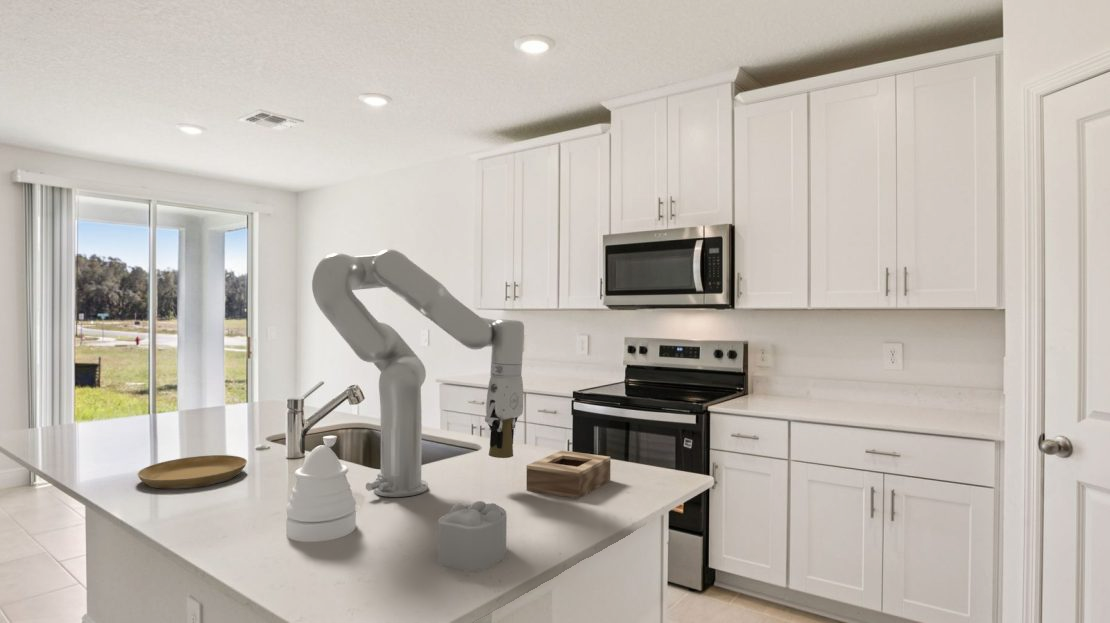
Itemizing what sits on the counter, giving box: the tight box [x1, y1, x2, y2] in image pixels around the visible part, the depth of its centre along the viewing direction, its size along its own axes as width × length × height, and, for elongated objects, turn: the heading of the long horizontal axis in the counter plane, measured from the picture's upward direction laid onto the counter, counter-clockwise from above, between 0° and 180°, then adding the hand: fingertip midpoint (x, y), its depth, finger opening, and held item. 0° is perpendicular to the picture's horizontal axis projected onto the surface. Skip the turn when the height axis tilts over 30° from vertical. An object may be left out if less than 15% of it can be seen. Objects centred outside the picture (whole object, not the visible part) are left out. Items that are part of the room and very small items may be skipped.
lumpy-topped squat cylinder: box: [437, 500, 507, 572], centre depth 113 cm, size 10×13×9 cm
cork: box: [488, 415, 514, 459], centre depth 154 cm, size 6×6×11 cm
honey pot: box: [285, 435, 357, 543], centre depth 125 cm, size 13×13×18 cm
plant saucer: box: [137, 454, 248, 490], centre depth 162 cm, size 24×24×3 cm
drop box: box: [526, 450, 611, 499], centre depth 157 cm, size 18×14×6 cm
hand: (501, 445), depth 154 cm, fingers closed on cork, 4 cm apart
